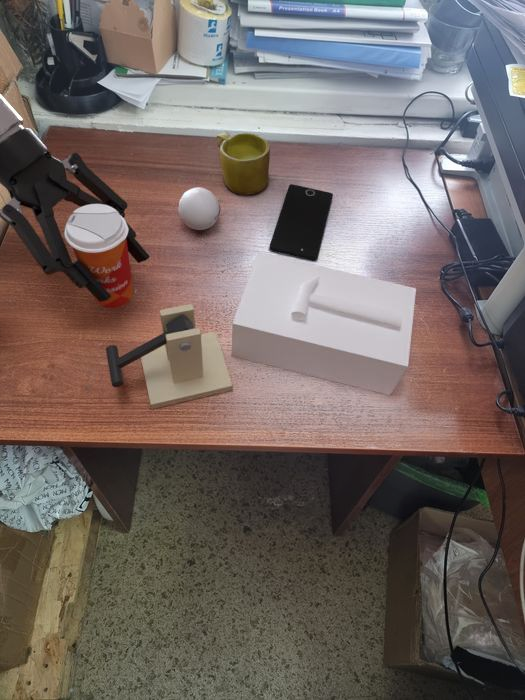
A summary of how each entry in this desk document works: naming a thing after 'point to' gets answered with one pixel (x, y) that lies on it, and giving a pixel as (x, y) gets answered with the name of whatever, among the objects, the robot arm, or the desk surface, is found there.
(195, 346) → the lever base
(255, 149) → the mug
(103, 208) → the coffee cup
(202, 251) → the desk surface
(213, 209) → the white sphere
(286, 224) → the cell phone
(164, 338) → the black lever
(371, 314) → the hammer on box
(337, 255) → the desk surface
